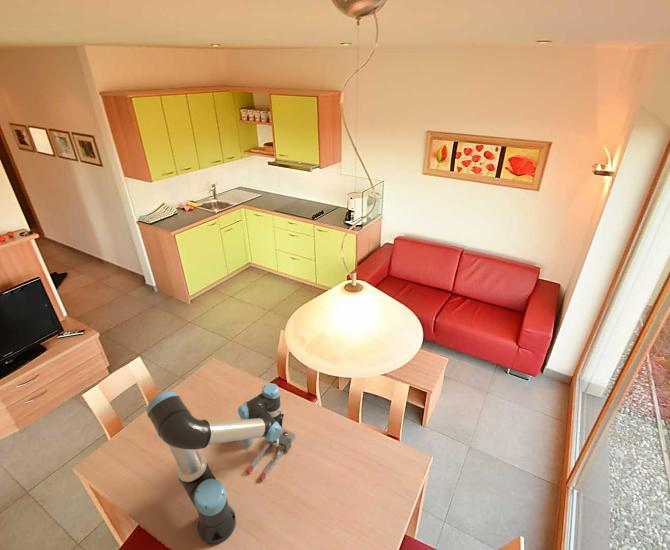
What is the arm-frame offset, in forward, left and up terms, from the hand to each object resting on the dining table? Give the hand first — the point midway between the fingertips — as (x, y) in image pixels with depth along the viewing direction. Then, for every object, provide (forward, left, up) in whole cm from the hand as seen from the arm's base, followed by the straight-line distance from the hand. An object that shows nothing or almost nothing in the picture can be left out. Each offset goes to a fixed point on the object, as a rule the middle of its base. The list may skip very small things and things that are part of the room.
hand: (276, 444), depth 192 cm
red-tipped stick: (-9, -4, -3) cm, 10 cm away
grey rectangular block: (+3, 0, -3) cm, 4 cm away
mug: (-4, +18, -4) cm, 19 cm away
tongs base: (-3, 0, -4) cm, 5 cm away
